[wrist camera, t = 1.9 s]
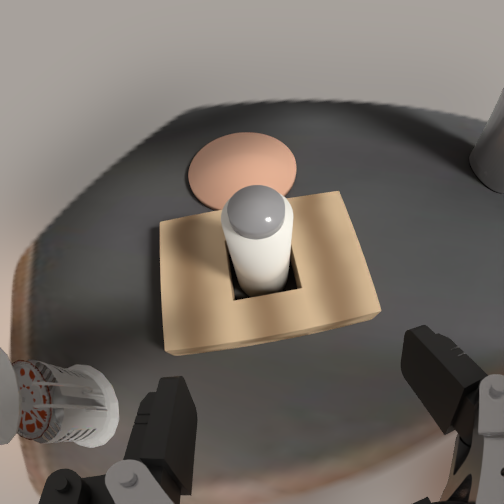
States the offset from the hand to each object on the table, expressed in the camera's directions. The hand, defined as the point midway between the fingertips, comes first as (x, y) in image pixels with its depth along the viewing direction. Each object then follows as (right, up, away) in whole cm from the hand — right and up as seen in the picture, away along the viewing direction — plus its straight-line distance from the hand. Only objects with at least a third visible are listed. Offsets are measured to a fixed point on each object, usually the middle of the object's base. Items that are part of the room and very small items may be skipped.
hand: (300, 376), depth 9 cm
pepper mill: (-1, +2, +22) cm, 22 cm away
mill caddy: (-1, +2, +21) cm, 22 cm away
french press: (-19, -12, +16) cm, 28 cm away
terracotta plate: (-3, +15, +28) cm, 32 cm away
